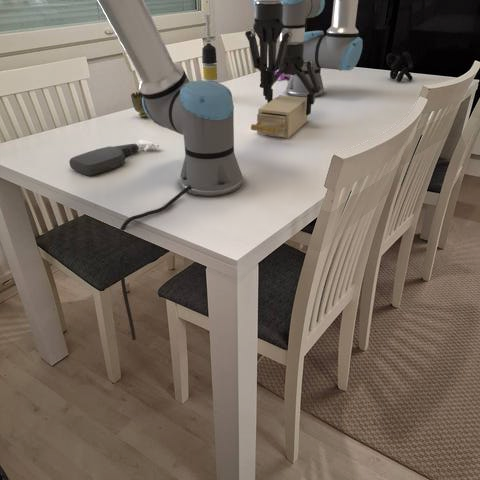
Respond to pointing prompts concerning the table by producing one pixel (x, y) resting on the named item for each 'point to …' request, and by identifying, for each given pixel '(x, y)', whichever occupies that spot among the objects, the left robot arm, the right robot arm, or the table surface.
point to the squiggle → (399, 66)
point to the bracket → (282, 76)
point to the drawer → (270, 124)
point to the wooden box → (288, 111)
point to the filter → (209, 57)
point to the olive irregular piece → (138, 104)
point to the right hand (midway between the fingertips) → (288, 112)
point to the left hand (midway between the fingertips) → (267, 94)
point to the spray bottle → (106, 157)
